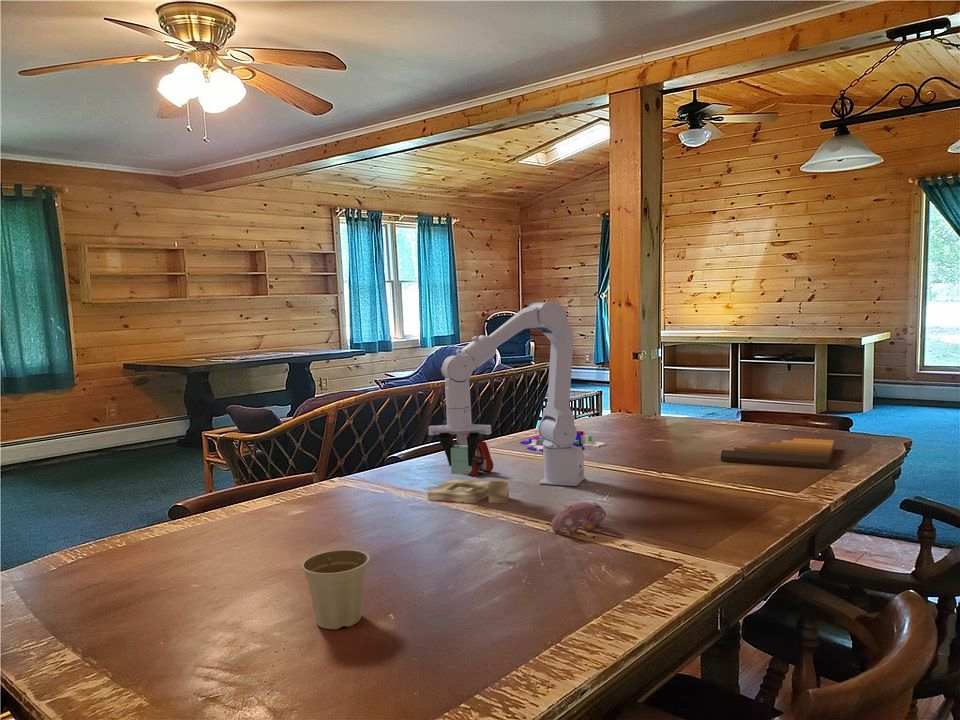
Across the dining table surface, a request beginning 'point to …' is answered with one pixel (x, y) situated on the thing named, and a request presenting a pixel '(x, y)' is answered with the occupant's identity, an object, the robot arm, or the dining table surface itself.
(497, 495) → the maple cube
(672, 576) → the dining table surface
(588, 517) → the video game controller
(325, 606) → the flower pot
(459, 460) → the teal brick
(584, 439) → the building block set
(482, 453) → the toy fire truck
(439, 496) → the base plate
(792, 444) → the pan flute
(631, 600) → the dining table surface
